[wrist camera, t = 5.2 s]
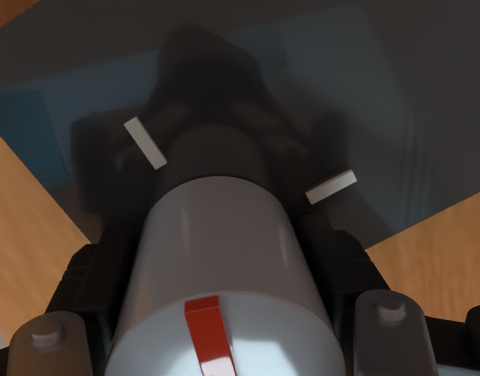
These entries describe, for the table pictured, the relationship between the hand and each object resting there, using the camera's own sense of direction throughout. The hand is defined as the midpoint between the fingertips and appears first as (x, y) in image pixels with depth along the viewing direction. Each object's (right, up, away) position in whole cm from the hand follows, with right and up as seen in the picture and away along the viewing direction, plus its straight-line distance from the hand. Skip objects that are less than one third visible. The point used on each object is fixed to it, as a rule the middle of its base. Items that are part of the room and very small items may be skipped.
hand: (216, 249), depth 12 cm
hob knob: (0, 0, 0) cm, 0 cm away
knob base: (+2, +4, +2) cm, 5 cm away
